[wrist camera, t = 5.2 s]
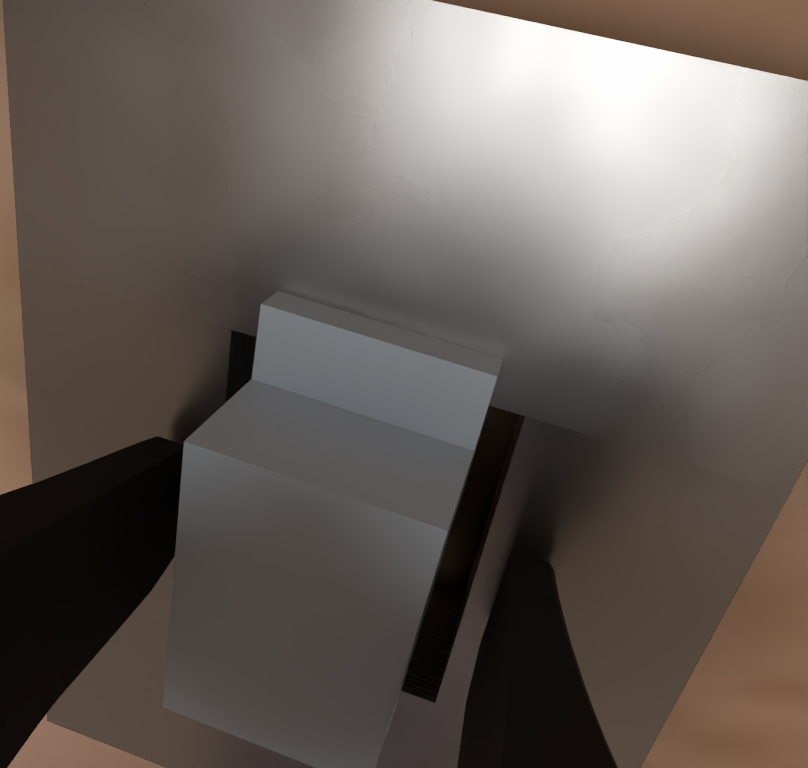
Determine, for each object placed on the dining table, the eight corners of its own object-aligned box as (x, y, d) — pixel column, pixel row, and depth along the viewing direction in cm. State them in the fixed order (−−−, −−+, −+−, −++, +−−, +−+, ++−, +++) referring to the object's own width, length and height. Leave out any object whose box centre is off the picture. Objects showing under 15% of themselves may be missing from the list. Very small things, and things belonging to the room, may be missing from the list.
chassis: (564, 789, 17) (556, 921, 15) (124, 628, 19) (47, 720, 17) (893, 102, 10) (992, 121, 8) (133, -62, 12) (-4, -94, 9)
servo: (428, 604, 16) (352, 841, 11) (289, 555, 17) (158, 763, 12) (525, 294, 13) (473, 446, 8) (344, 242, 13) (191, 355, 8)
